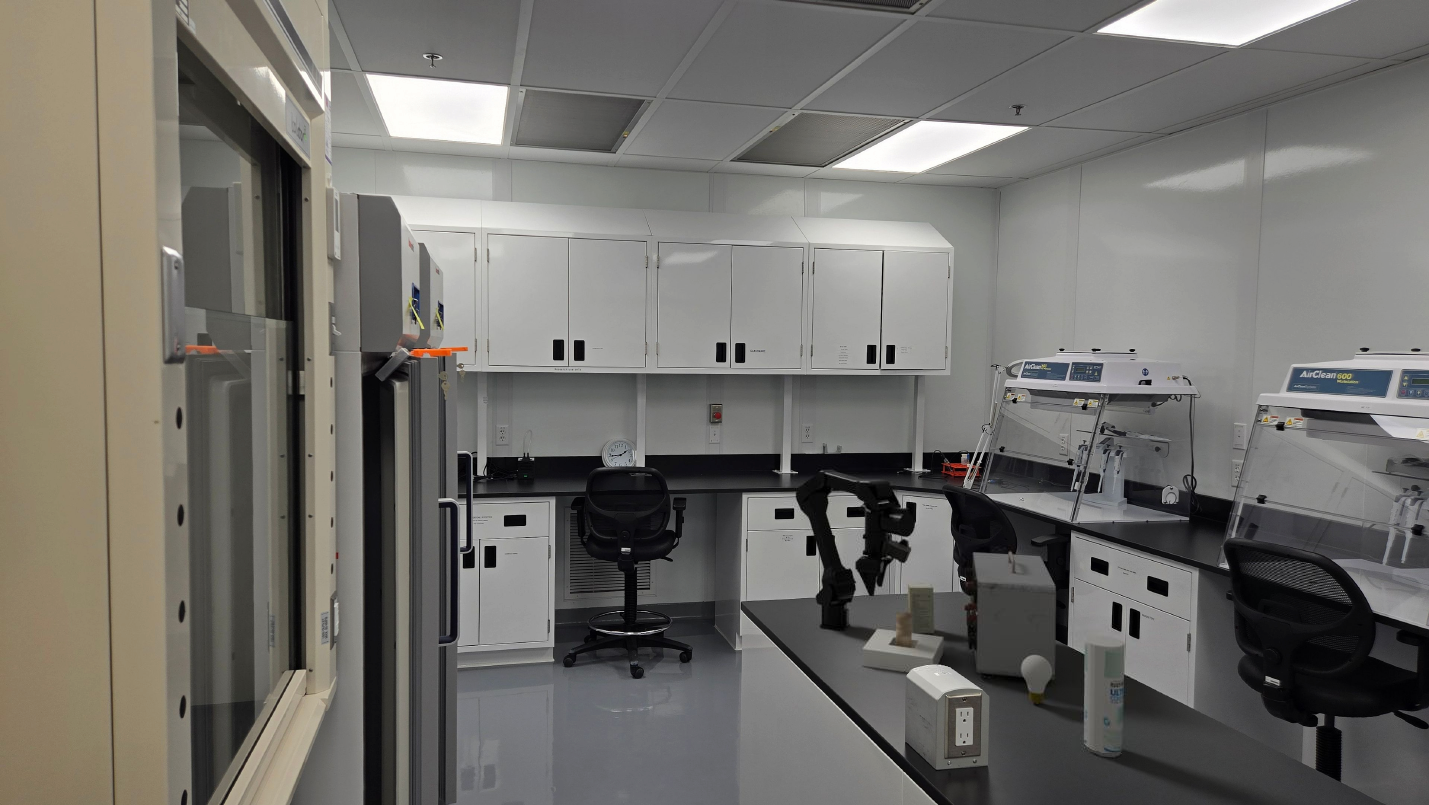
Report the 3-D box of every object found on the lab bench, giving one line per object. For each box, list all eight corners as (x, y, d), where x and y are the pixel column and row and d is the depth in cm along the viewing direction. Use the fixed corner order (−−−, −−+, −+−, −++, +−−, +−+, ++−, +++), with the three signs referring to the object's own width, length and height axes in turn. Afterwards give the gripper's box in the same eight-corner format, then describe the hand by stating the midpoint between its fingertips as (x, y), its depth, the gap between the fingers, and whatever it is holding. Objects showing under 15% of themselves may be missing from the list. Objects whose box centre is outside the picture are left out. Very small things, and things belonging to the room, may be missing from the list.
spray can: (1111, 761, 143) (1112, 649, 142) (1076, 748, 148) (1077, 639, 148) (1129, 751, 147) (1131, 642, 146) (1095, 738, 152) (1096, 632, 151)
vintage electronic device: (963, 634, 212) (964, 539, 211) (1038, 640, 207) (1039, 543, 206) (967, 679, 181) (968, 568, 180) (1054, 688, 176) (1056, 573, 175)
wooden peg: (894, 657, 193) (894, 615, 193) (897, 652, 196) (897, 611, 196) (909, 659, 192) (910, 617, 191) (912, 654, 195) (913, 612, 194)
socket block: (862, 665, 190) (862, 648, 190) (877, 644, 204) (877, 628, 204) (932, 676, 183) (932, 658, 183) (943, 653, 198) (943, 637, 198)
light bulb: (1050, 700, 170) (1051, 652, 169) (1052, 711, 164) (1053, 662, 164) (1020, 696, 172) (1020, 649, 171) (1021, 707, 166) (1021, 659, 166)
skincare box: (931, 628, 217) (932, 583, 216) (934, 634, 212) (934, 587, 212) (907, 628, 217) (907, 582, 217) (909, 633, 213) (909, 587, 213)
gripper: (901, 540, 194) (900, 605, 194) (915, 525, 211) (914, 585, 211) (854, 536, 198) (854, 599, 199) (872, 522, 215) (872, 581, 216)
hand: (875, 591), depth 206 cm, fingers open, 9 cm apart
